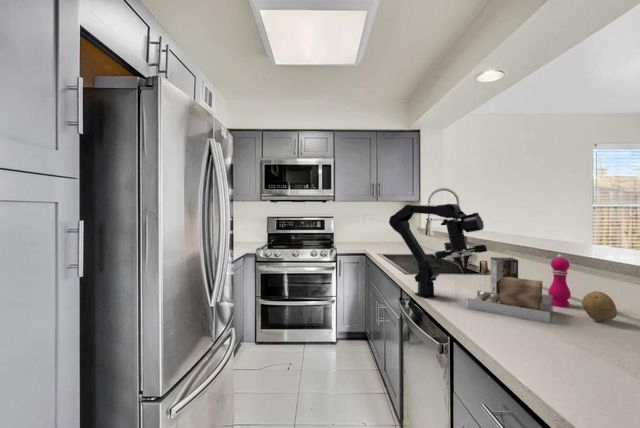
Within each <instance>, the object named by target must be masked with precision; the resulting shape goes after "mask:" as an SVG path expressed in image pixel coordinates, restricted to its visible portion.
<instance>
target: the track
mask: <svg viewBox="0 0 640 428" xmlns="http://www.w3.org/2000/svg"><path fill="white" fill-rule="evenodd" d="M476 294H477V295H476V297H475V298H469V297H468V298H467V309H469V310H475V311H480V312H486V313H490V314H497V315H502V316H508V317H512V318H513V317H514V318H517V319H518V318H519V319H525V320H529V321H530V320H531V321H536V322H542V323H546V324H550V323H551V319H552V316H553V310H554V307H553V296H552V295H549V294H543V293H542V298H541V301H540V309H539V310H537V309H531V308H525V307H519V306H513V305H507V304H500V294H498V293H491V292H490V291H481V290H477V291H476Z"/></svg>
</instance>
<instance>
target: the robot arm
mask: <svg viewBox="0 0 640 428" xmlns="http://www.w3.org/2000/svg"><path fill="white" fill-rule="evenodd" d="M414 214H425V215H435V216H437V217H440V218H445V219H443V221H442V222H441V223H440V226H446V231H447V234H448V239H449V242H444V243H443V245H444V249H445V250H439V251H435V252H434V257H433V258H430V257H429V256H427V254H426V253H425V251H424V249H423V247H422V246H421V244H420V242H419V241H418V240H417V238H416V237H415V235H414V234H413V232H412V230H411V227H410V225H411V223H410V222H409V221H410V220H411V219H412V218H413V215H414ZM388 223H389V226H390V227H391V228H392V229H393V230H394V232H396V233H398V234H399V235H400V236H401V238H402V239H403V242H404V243H405V244H406V246H407V248H408V249H409V250H410V252H411V254H412V255H413V257H414V259H415V260H416V262H417V270H418V271H419V272H418V273H417V274H416V275H415V276H414V280H415V282H416V283H417V292H414V295H416V296H419V297H421V298H425V299H426V298H431V297H432V298H434V297H437V294H436V293H435V286H434V284H435V283H434V282H435V281H436V280H437V277H439V276H440V273H441V269H440V265H439V264H438V263H437V261H436V260H438V259H439V260H441V259H445V258H447V257H450V259H451V260H454V261H455V263H456V264H457V265H458V267H459V269H460V271H461V273H462V274H463V275H466V274H467V269H468V263H469V260H470V257H472V256H473V254H471V253H476V254H477V253H480V254H481V253H486V252H488V248H487V246H486V245H485V244H477V245H472V247H469V248H468V246H467V242H466V237H465V233H464V231H465V232H466V233H473V232H478V231H483V230H484V220H483V219H482V217H481V216H480V214H479V212H474V213H470V214H466V213H465V212H464V211H463V210H462V209H461V206H459V204H456V203H445V204H443V203H442V204H438V205H427V204H414V203H407V204H405V205H404V206H403V207H402V208H401V209H399V210H398V211H397V212H395V213H394V214H392V215H391V216H390V217H389V220H388ZM460 255H461V256H460Z"/></svg>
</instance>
